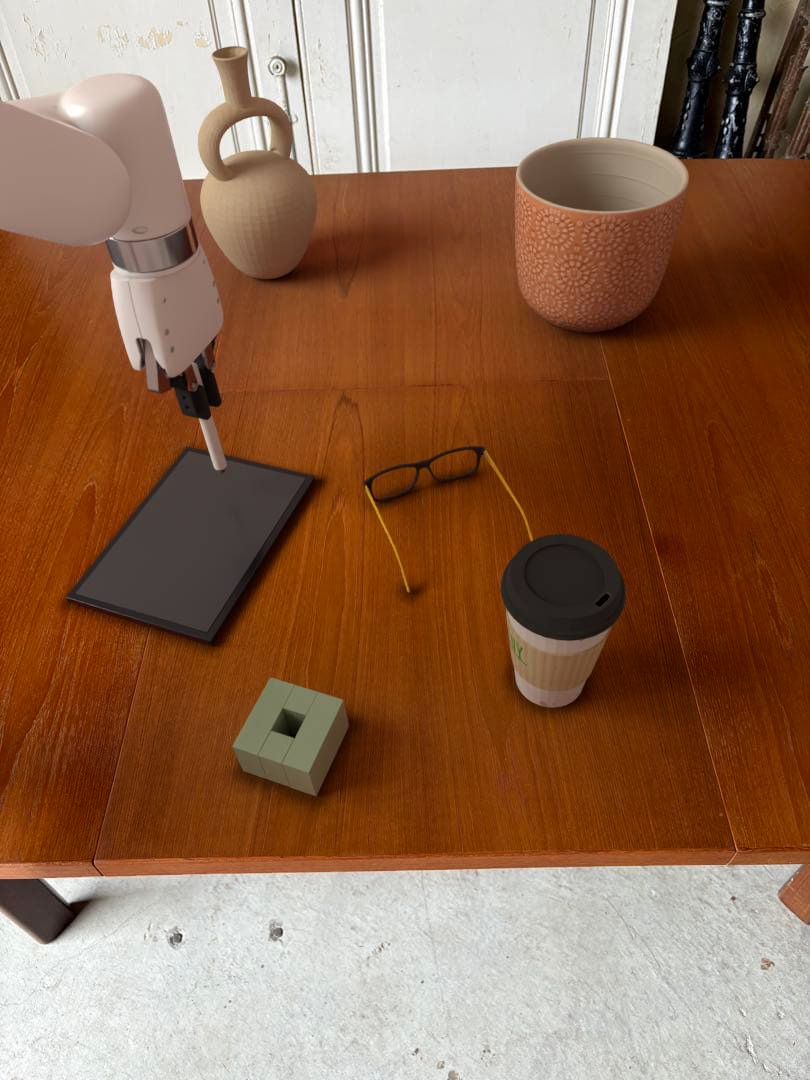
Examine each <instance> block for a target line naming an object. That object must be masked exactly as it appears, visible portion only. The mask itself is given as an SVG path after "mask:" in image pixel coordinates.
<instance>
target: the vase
mask: <svg viewBox="0 0 810 1080" xmlns="http://www.w3.org/2000/svg"><path fill="white" fill-rule="evenodd" d="M210 57H211V59H212V61H213V62H214V65H215V66H216V67H215V68H216V70H217V72H218V75H219V79H220V82H221V85H222V88H223V93H224V98H225V102H223V103H221V104H219V105H217V106H216V107H215V108H213V109H211V111H210V112H209V113H208V114H206V116H205V117H204V119H203V121H202V123H201V125H200V127H199V130H198V134H197V147H198V148H197V149H198V154H199V157H200V159H201V162H202V164H203V166H204V167H205V169H206V170H207V171H208V173H207V174H206V176H205V178H204V179H203V182H202V184H201V190H200V193H199V194H200V196H199V199H200V202H199V204H200V208H201V214H202V217H203V220H204V222H205V224H206V227H207V230H208V231H209V232H210V234H211V237H212V238H213V240H214V242H216V244H217V246H218V247H219V250H221V251H222V253H223V255H224V256H226V258H227V259H228V260H229V262H230V263H231V264H232V265H234V267H235V268H236V269H238V270H239V271H240V272H242V273H243V274H244V275H246V276H248V277H251V278H255V279H259V280H272V279H277V278H281V277H283V276H285V275H287V274H289V273H290V272H292V271H293V270H294V269H296V267H297V266H298V265H299V263H300V262H301V260H302V258H303V256H304V255H305V252H306V251H307V249H308V246H309V244H310V241H311V238H312V235H313V232H314V228H315V224H316V220H317V213H318V197H317V190H316V186H315V183H314V181H313V179H312V177H311V176H310V173H308V171H307V170H306V169H305V168H304V167H303V166H302V165H301V164H300V163H299V162H298V161H296V160H295V159H293V158H292V157H291V153H292V149H293V129H292V124H291V121H290V118H289V116H288V114H287V112H286V111H284V109H283V108H282V107H281V106H280V105H279V104H278V103H276V102H275V101H272V100H271V99H268V98H265V97H262V96H261V97H259V96H252V91H251V85H250V77H249V64H248V61H249V59H248V58H249V50H248V48H246V47H244V46H240V45H229V46H224V47H221V48H218V49H216V50H214V51H213V52H212V53H211V56H210ZM255 117H266V118H267V120H268V123H269V126H270V141H269V150H267V149H265V150H264V149H253V150H252V149H251V150H245V151H240V152H235V153H234V154H231V155H229V156H227V157H225V158H222V156H221V149H220V146H221V142H222V139H223V137H224V135H225V134H226V133H227V131H228V130H229V129H230V128H232V127H233V126H234V125H236V124H238V123H239V122H241V121H244V120H247V119H250V118H255Z"/></svg>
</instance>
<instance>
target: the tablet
mask: <svg viewBox="0 0 810 1080" xmlns="http://www.w3.org/2000/svg"><path fill="white" fill-rule="evenodd" d="M224 457H225V460H226V464H227V466H226V468H225V472H224V473H219V471H218V470H216V469H215V468H214V466H213V462H212V459H211V456H210V453H209V450H204V449H199V448H196V447H191V446H186V447H185V448H184V449H183V451H181V453H180V454H179V455H178V456H177V458H176V459H175V460H174V462H173V463H172V464H171V465H170V466H169V468H168V469H167V470H166V471H165V473H164V474H163V475H162V476H161V478H160V479H159V480H158V481H157V483H156V484H155V485H154V487H152V489H151V490H150V491H149V492H148V494H147V495H146V496H145V498H143V500H142V501H141V503H140V504H139V505H138V506H137V507H136V509H135V510H134V511H133V513H132V514H131V515H130V516H129V518H128V519H127V520H126V521H125V522H124V524H123V525H122V526H121V528H120V529H119V530H118V531H117V532H116V533H115V535H114V536H113V537H112V539H110V541H109V543H108V544H107V545H106V546H105V548H104V549H103V550H102V551H101V552H100V553H99V555H98V556H97V557H96V558H95V560H94V561H93V562H92V564H91V565H90V566H89V567H88V569H87V570H86V571H85V572H84V573H83V575H82V576H81V578H79V580H78V581H77V582H76V584H75V585H74V586H73V587H72V588H71V590H70V591H69V593H67V595H66V596H65V599H66V601H67V603H69V604H72V605H76V606H80V607H82V608H85V609H88V610H92V611H95V612H98V613H102V614H105V615H108V616H112V617H114V618H119V619H122V620H124V621H128V622H132V623H135V624H138V625H141V626H144V627H147V628H150V629H154V630H157V631H160V632H163V633H167V634H170V635H173V636H177V637H180V638H183V639H186V640H191V641H193V642H197V643H200V644H203V645H207V646H208V647H209V646H210V647H213V646H214V644H215V643H216V641H217V640H218V638H219V636H220V635H221V633H222V631H224V628H225V627H226V625H227V624H228V622H229V621H230V619H231V617H232V616H233V614H234V612H235V611H236V610H237V608H238V606H239V605H240V602H242V600H243V598H244V596H245V595H246V593H247V592H248V590H249V589H250V587H251V585H252V583H253V582H254V581H255V579H256V577H257V576H258V574H259V573H260V571H261V569H262V568H263V567H264V565H265V563H266V562H267V560H268V559H269V557H270V555H271V554H272V552H273V551H274V549H275V547H276V546H277V544H278V543H279V541H280V539H281V538H282V536H283V535H284V533H285V531H287V528H288V527H289V525H290V524H291V523H292V520H293V519H294V517H295V515H296V514H297V513H298V511H299V509H300V508H301V506H302V505H303V503H304V501H305V500H306V498H307V496H308V495H309V493H310V491H311V490H312V489H313V487H314V485H315V483H316V482H317V480H316V476H315V475H312V474H308V473H305V472H299V471H295V470H291V469H286V468H282V467H278V466H274V465H270V464H264V463H260V462H256V461H252V460H249V459H248V460H247V459H243V458H240V457H234V456H231V455H225V454H224Z"/></svg>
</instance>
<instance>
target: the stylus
mask: <svg viewBox="0 0 810 1080" xmlns="http://www.w3.org/2000/svg"><path fill="white" fill-rule="evenodd" d="M191 364H192V367H193V370H194V373H195V376H196V379H197V382H198V384H199V385H202V386H203V383H202V380H201V376H200V373H199V370H198V366H197V364H196V363H193V362H192V363H191ZM205 394H206V393H205ZM207 401H208V400H207ZM208 404H209V403H208ZM210 411H211V417H210V418H209V420H204V419H199V418H198V421H199V423H200V427H201V430H202V431H201V432H202V433H203V434H202V435H203V437H204V440H205V443H206V447H207V449H208V450H207V451H209V453H210V456H211V459H212V462H213V466H214V468H215V469H216V470H218V471H219V473H224V472H225V468H226V466H227V464H226V460H225V457H224V455H225V453H224V451H223V447H222V444H221V443H222V442H221V440H220V437H219V434H218V431H217V426H216V423H215V420H214V417H213V413H212V410H211V409H210Z"/></svg>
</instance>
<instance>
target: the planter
mask: <svg viewBox="0 0 810 1080" xmlns="http://www.w3.org/2000/svg"><path fill="white" fill-rule="evenodd" d="M514 183H515V184H514V254H515V267H516V274H517V282H518V286H519V287H518V288H519V290H520V293H521V295H522V297H523V299H524V301H525V302H526V304H527V305H528V307H529V308H530V309H531V310H532V311H533V312H534V313H535V314H536V315H537V316H538V317H539V318H541V319H542V320H543V321H545V322H547V323H549V324H551V325H553V326H555V327H557V328H558V329H559V328H560V329H563V330H566V331H570V332H578V333H598V332H605V331H610V330H613V329H616V328H619V327H620V326H621V327H622V326H623V325H626V324H627V323H629V322H631V321H632V320H634V319H635V318H637V317H638V316H640V315H641V314H642V313H643V312H644V311H645V310H646V309H647V308H648V307H649V306H650V304H651V303H652V302H653V300H654V298H655V297H656V295H657V293H658V291H659V289H660V286H661V283H662V281H663V278H664V276H665V273H666V270H667V267H668V264H669V261H670V258H671V255H672V251H673V248H674V244H675V240H676V236H677V233H678V230H679V227H680V222H681V218H682V214H683V210H684V206H685V201H686V198H687V192H688V189H689V183H690V173H689V171H688V169H687V167H686V165H685V164H684V163H683V161H682V160H680V159H679V158H678V157H677V156H675V155H674V154H673V153H670V152H669V151H667V150H665V149H663V148H661V147H659V146H656V145H653V144H649V143H646V142H643V141H638V140H634V139H633V140H632V139H629V138H628V139H627V138H621V137H605V136H594V137H578V138H571V139H566V140H561V141H557V142H553V143H549V144H547V145H544V146H542V147H539V148H537V149H535V150H534V151H532V152H530V153H529V154H527V155H526V156H525V157H523V159H522V160H521V161H520V162H519V164H518V165H517V168H516V171H515V182H514Z"/></svg>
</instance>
